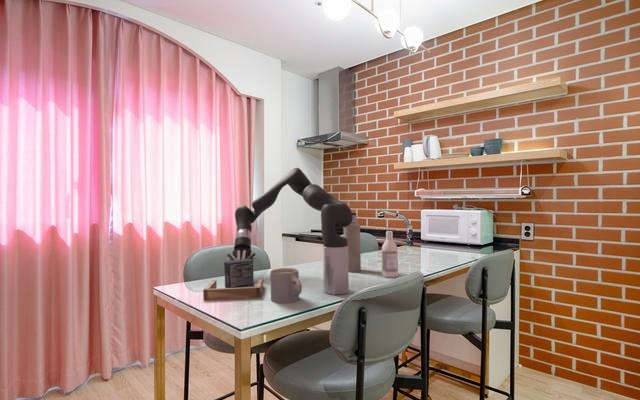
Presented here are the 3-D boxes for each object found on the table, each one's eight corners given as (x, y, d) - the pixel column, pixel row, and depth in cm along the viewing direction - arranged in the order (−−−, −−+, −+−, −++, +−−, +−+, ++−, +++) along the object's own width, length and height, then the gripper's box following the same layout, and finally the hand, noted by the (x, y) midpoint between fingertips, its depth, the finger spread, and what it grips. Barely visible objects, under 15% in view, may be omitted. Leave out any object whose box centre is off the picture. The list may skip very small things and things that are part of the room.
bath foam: (384, 273, 162) (383, 230, 162) (399, 275, 159) (398, 230, 159) (380, 277, 155) (379, 231, 155) (396, 278, 152) (395, 232, 152)
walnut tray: (212, 288, 141) (212, 280, 141) (263, 286, 142) (262, 278, 142) (203, 299, 125) (203, 290, 125) (260, 297, 127) (259, 287, 127)
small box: (248, 282, 151) (247, 258, 150) (254, 285, 145) (253, 260, 145) (224, 286, 145) (223, 260, 145) (229, 289, 139) (229, 263, 139)
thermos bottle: (344, 268, 175) (343, 212, 175) (360, 268, 174) (359, 212, 174) (344, 272, 167) (342, 213, 167) (360, 272, 166) (359, 213, 166)
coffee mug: (266, 298, 126) (265, 270, 126) (290, 293, 131) (290, 266, 131) (283, 307, 115) (282, 276, 115) (309, 301, 120) (308, 272, 120)
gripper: (258, 245, 166) (256, 277, 153) (229, 246, 164) (225, 278, 152) (257, 235, 160) (255, 267, 148) (227, 236, 159) (223, 268, 147)
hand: (240, 273), depth 150 cm, fingers closed
